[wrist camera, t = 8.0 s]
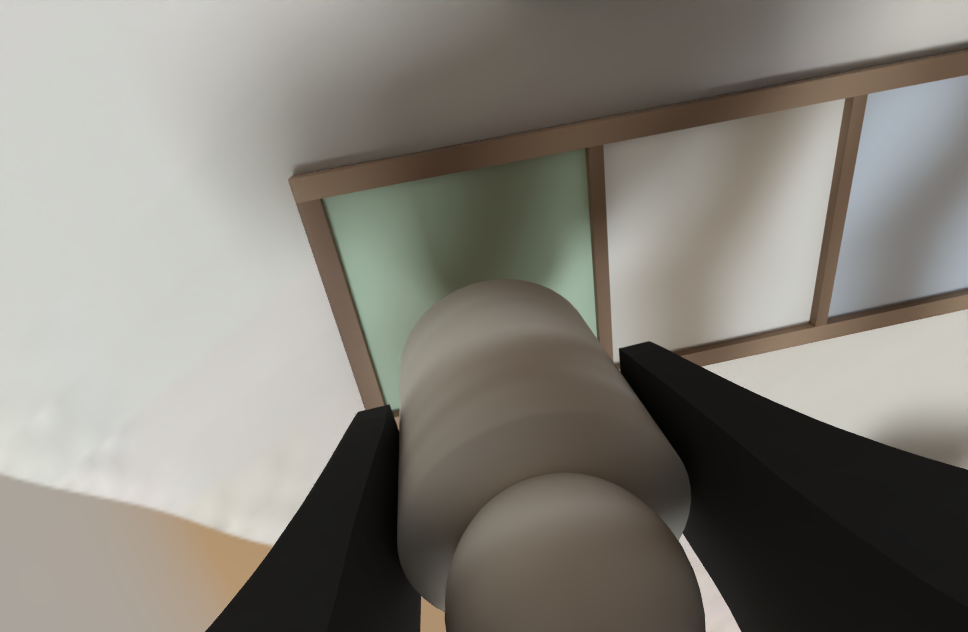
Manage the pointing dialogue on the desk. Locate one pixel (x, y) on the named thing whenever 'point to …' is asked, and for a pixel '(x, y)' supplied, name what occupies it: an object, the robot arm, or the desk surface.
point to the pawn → (535, 475)
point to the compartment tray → (669, 220)
